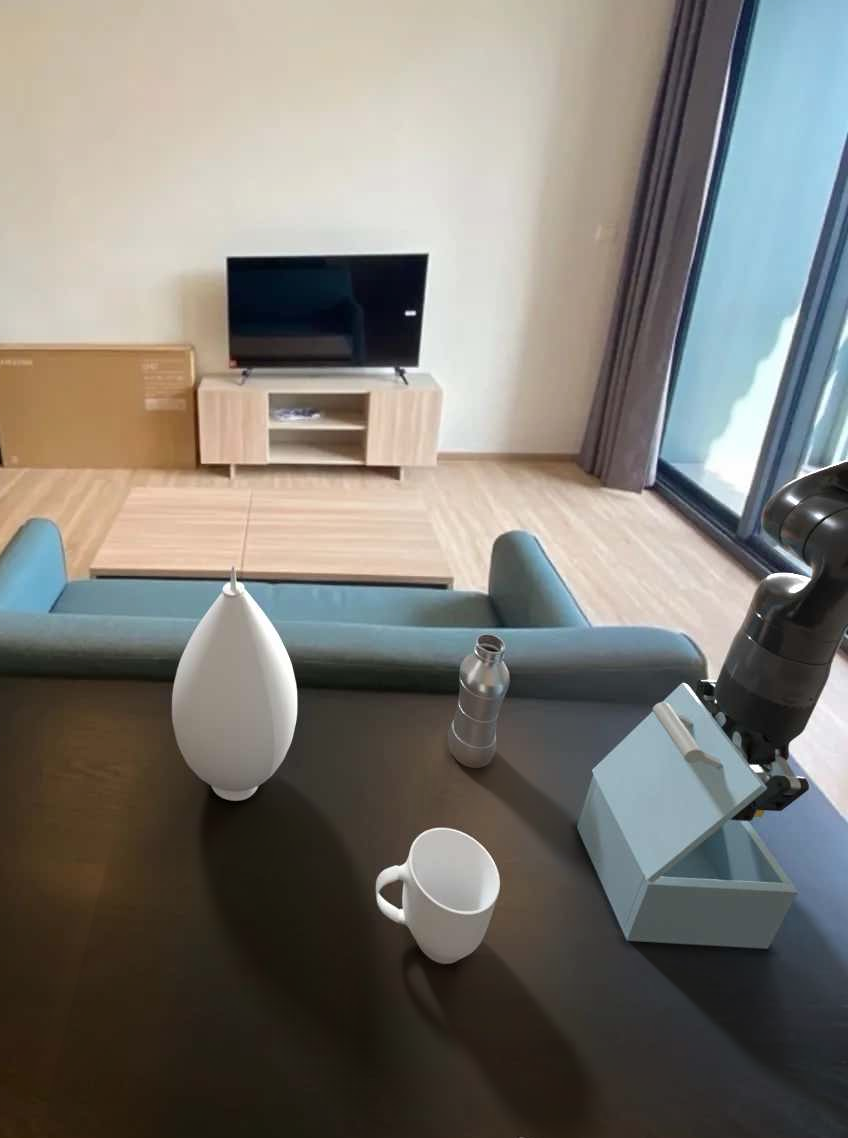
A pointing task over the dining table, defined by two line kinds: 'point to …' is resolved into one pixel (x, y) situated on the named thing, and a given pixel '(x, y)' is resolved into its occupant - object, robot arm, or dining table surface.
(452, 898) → the mug
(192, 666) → the lamp
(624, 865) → the light blue box
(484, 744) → the silver metal bottle
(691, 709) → the box lid
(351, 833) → the dining table surface
